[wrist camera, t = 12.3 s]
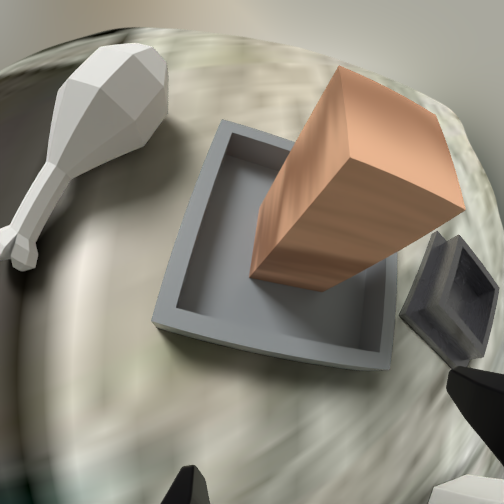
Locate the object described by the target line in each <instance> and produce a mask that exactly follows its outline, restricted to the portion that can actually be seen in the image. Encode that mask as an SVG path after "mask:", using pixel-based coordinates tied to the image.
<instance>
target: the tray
mask: <svg viewBox="0 0 504 504" xmlns="http://www.w3.org/2000/svg"><path fill="white" fill-rule="evenodd" d="M294 144H295V142H292V141H290V140H287V139H284V138H281V137H278V136H275V135H272V134H269V133H266V132H263V131H260V130H257V129H253V128H250V127H247V126H244V125H240V124H237V123H234V122H230V121H227V120H223V119H222V120H221V122H220V125H219V127H218V129H217V132H216V134H215V137H214V139H213V141H212V144H211V146H210V149H209V151H208V154H207V156H206V159H205V161H204V164H203V166H202V169H201V171H200V174H199V177H198V179H197V182H196V185H195V187H194V190H193V193H192V195H191V198H190V201H189V204H188V206H187V209H186V212H185V215H184V218H183V221H182V223H181V226H180V229H179V232H178V235H177V238H176V241H175V244H174V247H173V250H172V253H171V256H170V259H169V263H168V266H167V269H166V272H165V275H164V279H163V282H162V285H161V289H160V292H159V295H158V299H157V302H156V306H155V309H154V313H153V316H152V320H151V321H152V323H153V324H154V325H155V326H156V328H159V329H162V330H165V331H169V332H172V333H176V334H179V335H183V336H187V337H190V338H194V339H198V340H201V341H205V342H209V343H213V344H217V345H221V346H225V347H230V348H234V349H238V350H243V351H247V352H252V353H256V354H261V355H266V356H271V357H276V358H281V359H286V360H292V361H297V362H303V363H309V364H315V365H321V366H328V367H335V368H342V369H349V370H357V371H375V370H390V364H391V356H392V347H393V337H394V326H395V312H396V293H397V252H396V253H394V254H392V255H391V256H389V257H387V258H385V259H383V260H382V261H380V262H378V263H376V264H374V265H373V266H371V267H369V268H367V269H365V270H364V271H362V272H360V273H358V274H356V275H354V276H352V277H351V278H349V279H347V280H345V281H343V282H341V283H339V284H337V285H335V286H333V287H331V288H330V289H328V290H326V291H324V292H318V291H313V290H308V289H303V288H298V287H293V286H288V285H283V284H278V283H273V282H268V281H263V280H258V279H253V278H249V273H250V266H251V260H252V253H253V247H254V240H255V233H256V227H257V220H258V213H259V208H260V206H261V204H262V202H263V200H264V198H265V197H266V195H267V193H268V191H269V189H270V187H271V186H272V184H273V182H274V180H275V178H276V177H277V175H278V173H279V171H280V169H281V167H282V166H283V164H284V162H285V160H286V158H287V157H288V155H289V153H290V151H291V149H292V148H293V146H294Z"/></svg>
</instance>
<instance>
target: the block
mask: <svg viewBox="0 0 504 504" xmlns="http://www.w3.org/2000/svg"><path fill="white" fill-rule="evenodd" d="M465 210H466V209H465V205H464V201H463V197H462V193H461V189H460V185H459V182H458V178H457V174H456V171H455V168H454V164H453V161H452V158H451V155H450V152H449V149H448V146H447V143H446V140H445V138H444V135H443V132H442V130H441V127H440V124H439V122H438V119H437V117H436V115H435V114H433V113H431V112H430V111H428V110H426V109H425V108H423V107H421V106H420V105H418V104H416V103H415V102H413V101H411V100H409V99H408V98H406V97H404V96H402V95H400V94H398V93H397V92H395V91H393V90H391V89H389V88H387V87H385V86H383V85H381V84H379V83H377V82H375V81H373V80H371V79H369V78H366V77H364V76H362V75H360V74H358V73H355V72H353V71H351V70H348V69H346V68H344V67H341V66H338V68H337V70H336V71H335V73H334V75H333V77H332V78H331V80H330V82H329V84H328V85H327V87H326V89H325V91H324V92H323V94H322V96H321V98H320V100H319V101H318V103H317V105H316V107H315V108H314V110H313V112H312V114H311V115H310V117H309V119H308V121H307V123H306V124H305V126H304V128H303V130H302V132H301V133H300V135H299V137H298V139H297V140H296V142H295V144H294V146H293V148H292V149H291V151H290V153H289V155H288V157H287V158H286V160H285V162H284V164H283V166H282V167H281V169H280V171H279V173H278V175H277V177H276V178H275V180H274V182H273V184H272V186H271V187H270V189H269V191H268V193H267V195H266V197H265V198H264V200H263V202H262V204H261V206H260V208H259V213H258V220H257V227H256V233H255V240H254V247H253V253H252V260H251V266H250V273H249V278H253V279H258V280H263V281H268V282H273V283H278V284H283V285H288V286H293V287H298V288H303V289H308V290H313V291H318V292H324V291H326V290H328V289H330V288H331V287H333V286H335V285H337V284H339V283H341V282H343V281H345V280H347V279H349V278H351V277H352V276H354V275H356V274H358V273H360V272H362V271H364V270H365V269H367V268H369V267H371V266H373V265H374V264H376V263H378V262H380V261H382V260H383V259H385V258H387V257H389V256H391V255H392V254H394V253H396V252H398V251H399V250H401V249H403V248H404V247H406V246H408V245H410V244H411V243H413V242H415V241H416V240H418V239H420V238H421V237H423V236H425V235H426V234H428V233H430V232H431V231H433V230H435V229H436V228H438V227H439V226H441V225H443V224H444V223H446V222H448V221H449V220H451V219H452V218H454V217H455V216H457V215H459V214H460V213H462V212H463V211H465Z"/></svg>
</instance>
